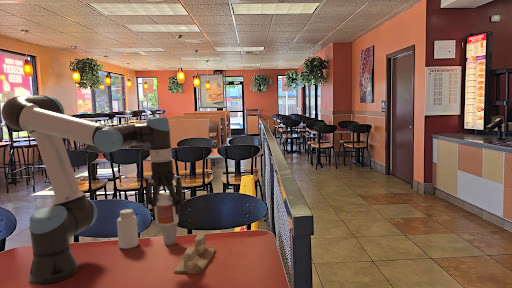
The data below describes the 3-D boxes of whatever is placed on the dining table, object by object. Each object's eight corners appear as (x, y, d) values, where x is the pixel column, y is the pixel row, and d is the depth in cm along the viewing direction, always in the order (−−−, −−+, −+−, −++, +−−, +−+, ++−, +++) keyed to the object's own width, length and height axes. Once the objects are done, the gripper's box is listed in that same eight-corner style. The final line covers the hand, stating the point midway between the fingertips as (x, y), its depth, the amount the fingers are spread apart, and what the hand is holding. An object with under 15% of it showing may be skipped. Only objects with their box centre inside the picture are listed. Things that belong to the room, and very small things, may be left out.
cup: (174, 238, 169) (172, 205, 167) (183, 243, 163) (181, 209, 161) (157, 243, 164) (155, 209, 162) (166, 248, 158) (163, 213, 156)
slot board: (174, 273, 136) (172, 254, 135) (191, 250, 156) (190, 233, 155) (201, 274, 135) (200, 254, 134) (215, 250, 154) (214, 233, 153)
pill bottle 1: (142, 243, 164) (140, 209, 162) (127, 250, 157) (124, 215, 155) (130, 240, 168) (127, 207, 166) (114, 247, 161) (111, 212, 159)
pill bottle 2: (178, 223, 140) (175, 193, 139) (161, 227, 137) (159, 197, 135) (172, 219, 145) (169, 190, 144) (156, 223, 142) (153, 193, 141)
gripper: (131, 163, 136) (138, 226, 139) (183, 161, 133) (189, 226, 136) (141, 159, 143) (147, 219, 146) (190, 157, 140) (195, 219, 143)
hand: (167, 222), depth 141 cm, fingers closed on pill bottle 2, 6 cm apart
